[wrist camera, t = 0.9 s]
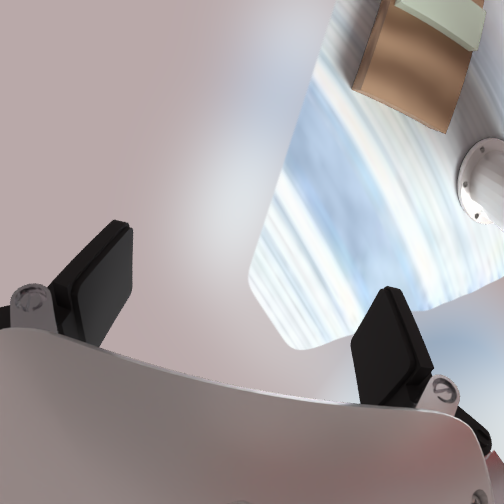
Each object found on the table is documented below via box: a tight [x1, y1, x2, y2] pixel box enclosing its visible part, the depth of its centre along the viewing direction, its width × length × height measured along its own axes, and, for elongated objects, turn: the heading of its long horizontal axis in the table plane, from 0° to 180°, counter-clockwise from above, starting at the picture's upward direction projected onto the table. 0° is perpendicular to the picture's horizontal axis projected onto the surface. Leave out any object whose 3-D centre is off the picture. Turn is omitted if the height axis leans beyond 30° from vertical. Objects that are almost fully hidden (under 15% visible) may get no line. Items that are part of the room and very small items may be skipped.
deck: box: [352, 0, 484, 134], centre depth 24 cm, size 20×11×4 cm, turn 163°
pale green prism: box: [394, 0, 486, 51], centre depth 19 cm, size 6×10×2 cm, turn 73°
